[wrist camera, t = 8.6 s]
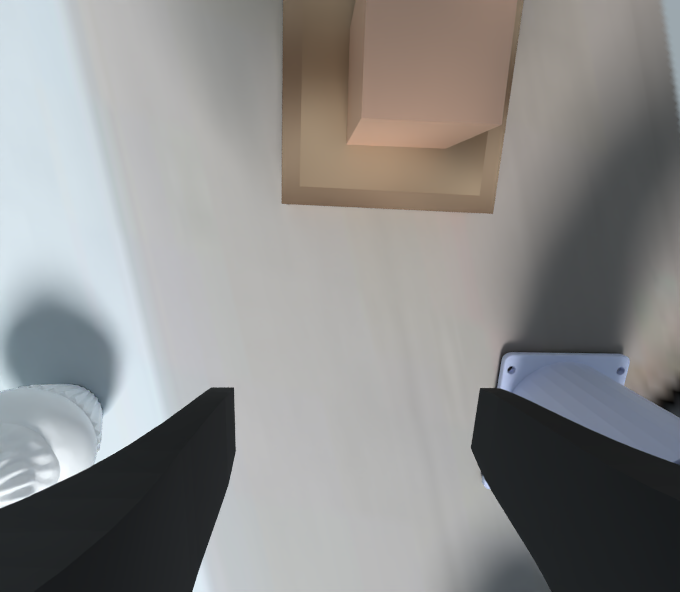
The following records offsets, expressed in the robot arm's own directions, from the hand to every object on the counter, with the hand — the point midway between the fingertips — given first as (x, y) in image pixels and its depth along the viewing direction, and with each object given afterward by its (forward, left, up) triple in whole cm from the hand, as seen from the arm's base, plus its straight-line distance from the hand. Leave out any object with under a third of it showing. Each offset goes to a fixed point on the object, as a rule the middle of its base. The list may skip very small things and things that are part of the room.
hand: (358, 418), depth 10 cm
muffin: (-6, +15, -11) cm, 19 cm away
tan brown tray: (+11, -2, -10) cm, 15 cm away
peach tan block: (+11, -2, -8) cm, 14 cm away
